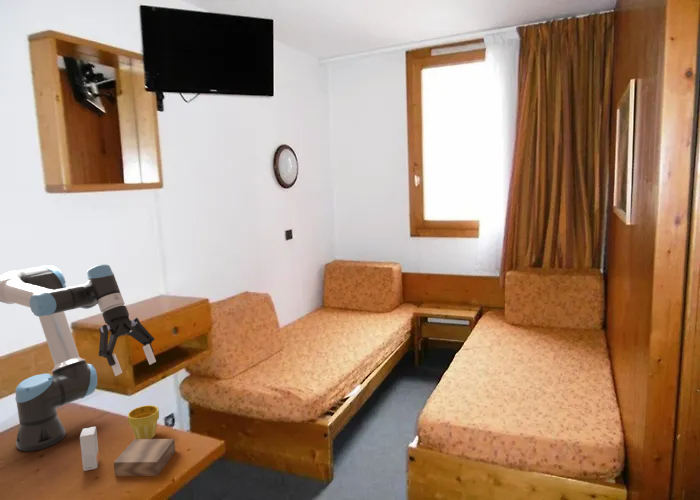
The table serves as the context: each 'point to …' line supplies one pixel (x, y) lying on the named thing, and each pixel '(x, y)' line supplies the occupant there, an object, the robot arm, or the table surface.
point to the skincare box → (89, 448)
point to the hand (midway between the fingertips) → (136, 368)
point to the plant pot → (144, 421)
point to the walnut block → (144, 457)
